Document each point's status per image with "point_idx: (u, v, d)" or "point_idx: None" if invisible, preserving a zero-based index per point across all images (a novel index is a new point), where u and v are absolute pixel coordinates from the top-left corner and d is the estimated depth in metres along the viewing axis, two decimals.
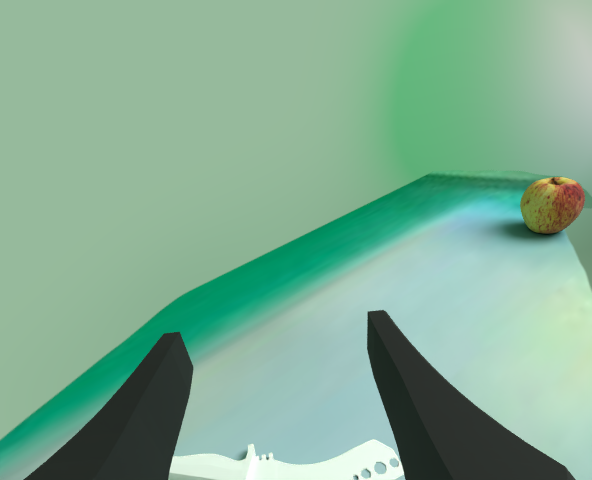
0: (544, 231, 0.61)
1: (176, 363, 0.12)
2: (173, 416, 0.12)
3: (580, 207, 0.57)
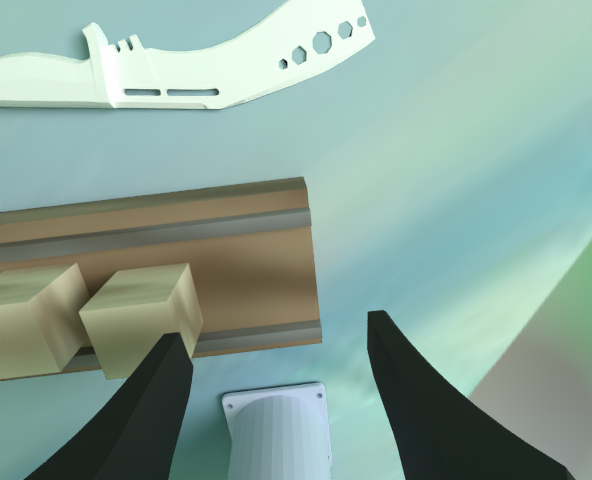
0: None
1: (176, 363, 0.12)
2: (173, 416, 0.12)
3: None
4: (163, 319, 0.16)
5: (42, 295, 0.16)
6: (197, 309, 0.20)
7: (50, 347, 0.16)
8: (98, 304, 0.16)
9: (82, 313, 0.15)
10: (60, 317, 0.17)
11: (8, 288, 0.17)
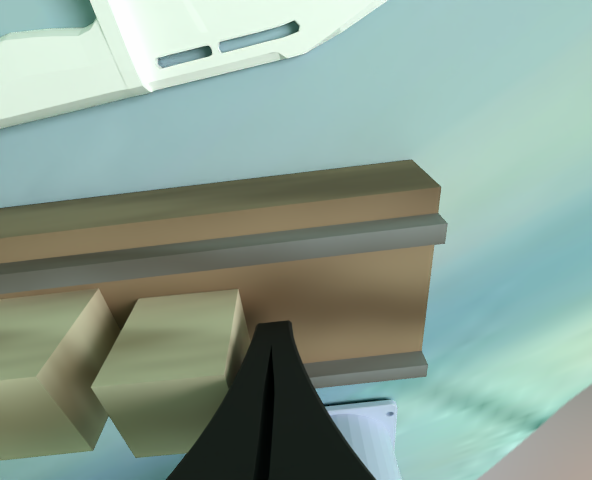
0: None
1: None
2: None
3: None
4: (217, 394, 0.11)
5: (57, 356, 0.11)
6: (248, 347, 0.15)
7: (76, 425, 0.11)
8: (119, 371, 0.11)
9: (96, 389, 0.10)
10: (85, 375, 0.12)
11: (6, 339, 0.11)
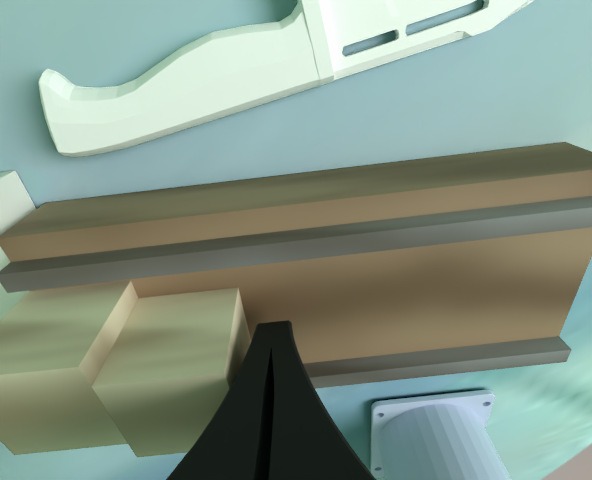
0: None
1: None
2: None
3: None
4: (218, 393, 0.11)
5: (96, 348, 0.11)
6: (249, 345, 0.15)
7: None
8: (119, 370, 0.11)
9: (97, 388, 0.10)
10: None
11: (42, 330, 0.11)
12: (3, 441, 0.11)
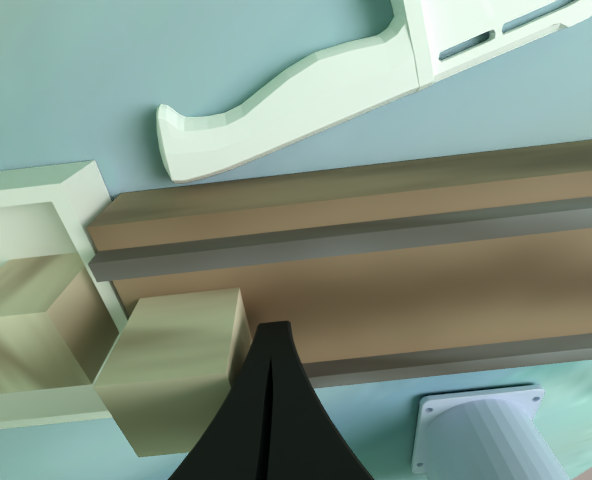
0: None
1: None
2: None
3: None
4: (220, 393, 0.11)
5: None
6: (250, 345, 0.15)
7: None
8: (121, 370, 0.11)
9: (99, 388, 0.10)
10: None
11: (18, 282, 0.14)
12: None
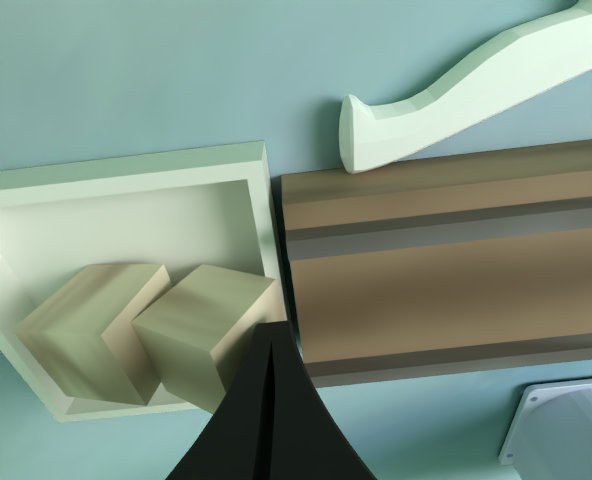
0: None
1: None
2: None
3: None
4: (209, 368, 0.11)
5: (33, 335, 0.12)
6: None
7: (50, 375, 0.14)
8: (152, 317, 0.13)
9: (133, 325, 0.13)
10: (65, 364, 0.13)
11: (88, 293, 0.14)
12: None
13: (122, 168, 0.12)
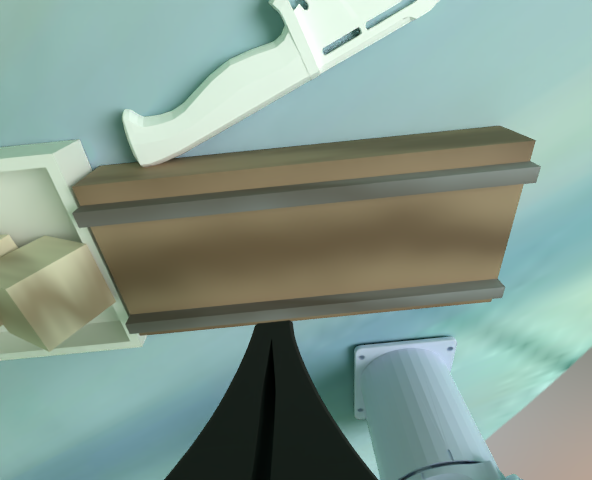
0: None
1: None
2: None
3: None
4: (12, 303, 0.16)
5: None
6: (100, 290, 0.19)
7: None
8: None
9: None
10: None
11: None
12: None
13: None
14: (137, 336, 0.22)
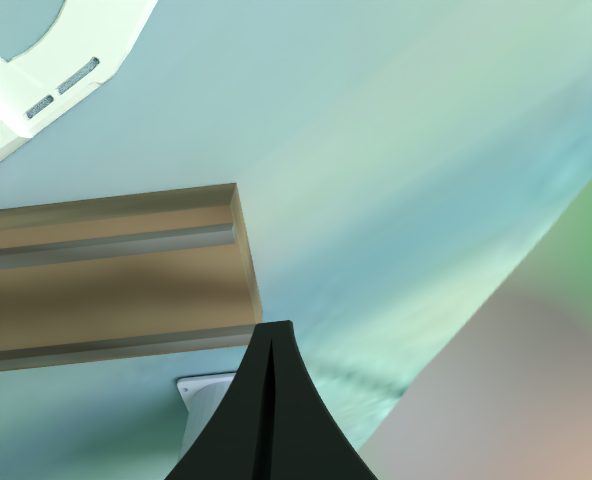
0: None
1: None
2: None
3: None
4: None
5: None
6: None
7: None
8: None
9: None
10: None
11: None
12: None
13: None
14: None
